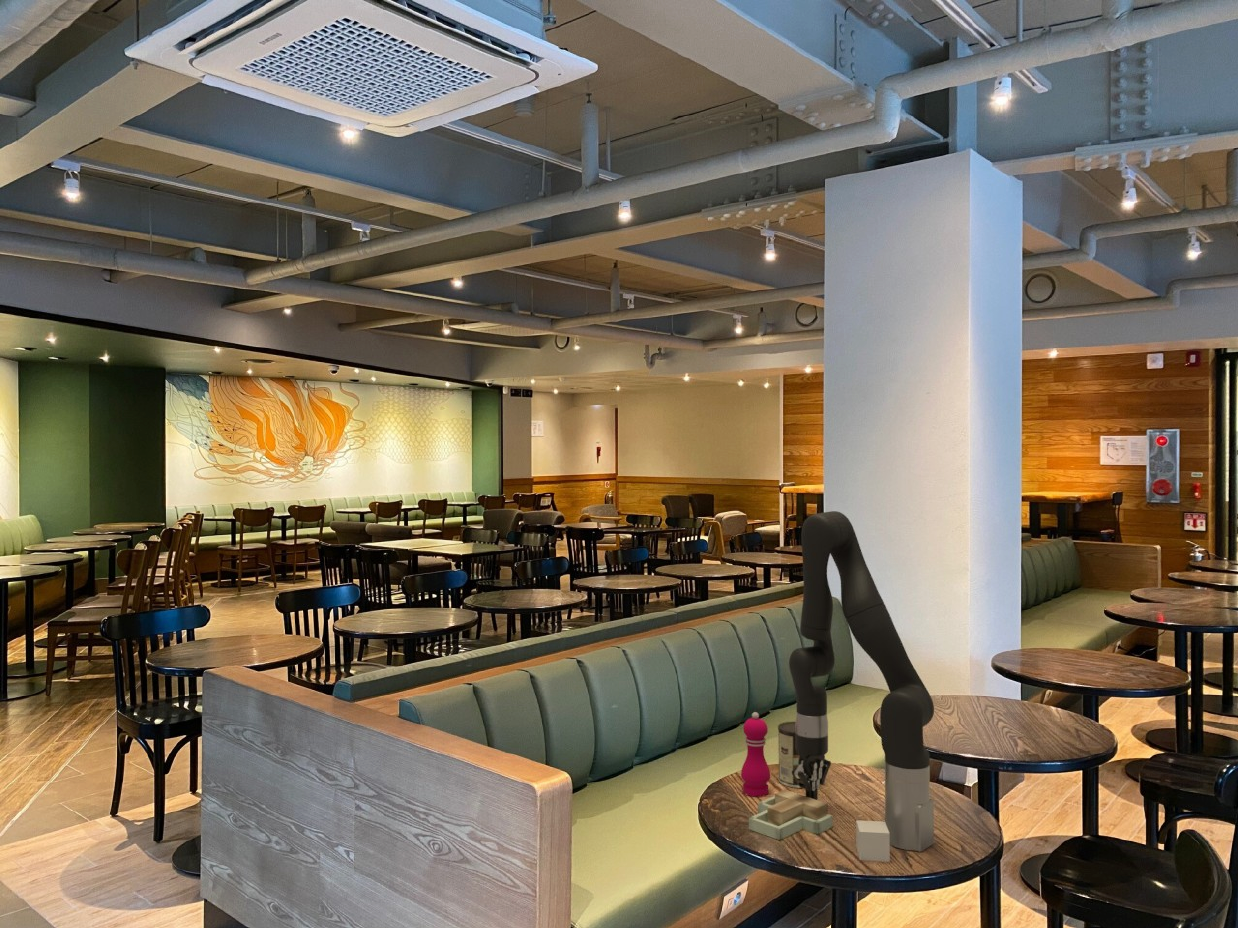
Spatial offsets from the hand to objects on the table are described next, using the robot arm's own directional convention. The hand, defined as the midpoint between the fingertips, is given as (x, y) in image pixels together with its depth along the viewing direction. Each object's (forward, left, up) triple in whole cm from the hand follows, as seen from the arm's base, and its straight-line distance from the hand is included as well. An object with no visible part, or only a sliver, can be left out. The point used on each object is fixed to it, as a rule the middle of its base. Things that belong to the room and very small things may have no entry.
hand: (811, 804), depth 209 cm
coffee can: (+14, -14, -2) cm, 20 cm away
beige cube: (-22, +11, -2) cm, 25 cm away
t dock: (0, +11, -2) cm, 12 cm away
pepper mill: (+17, 0, -2) cm, 17 cm away
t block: (0, +8, -2) cm, 8 cm away
